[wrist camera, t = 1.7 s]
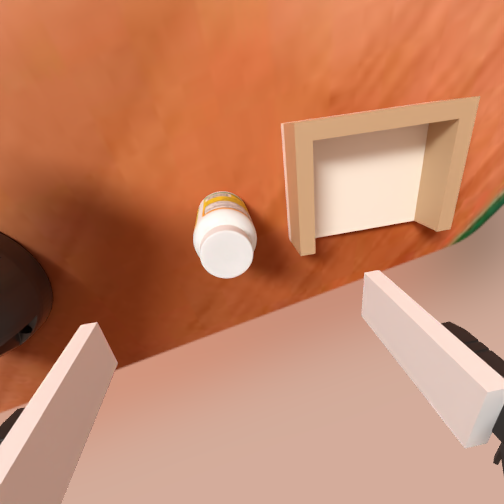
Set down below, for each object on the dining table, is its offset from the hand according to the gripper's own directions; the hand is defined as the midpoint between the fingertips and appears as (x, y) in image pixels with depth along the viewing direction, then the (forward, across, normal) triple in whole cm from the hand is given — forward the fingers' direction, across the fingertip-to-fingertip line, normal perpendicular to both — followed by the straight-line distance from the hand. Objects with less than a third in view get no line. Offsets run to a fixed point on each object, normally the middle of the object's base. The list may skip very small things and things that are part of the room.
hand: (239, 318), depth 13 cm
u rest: (+17, +15, +2) cm, 22 cm away
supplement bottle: (+17, 0, 0) cm, 17 cm away
